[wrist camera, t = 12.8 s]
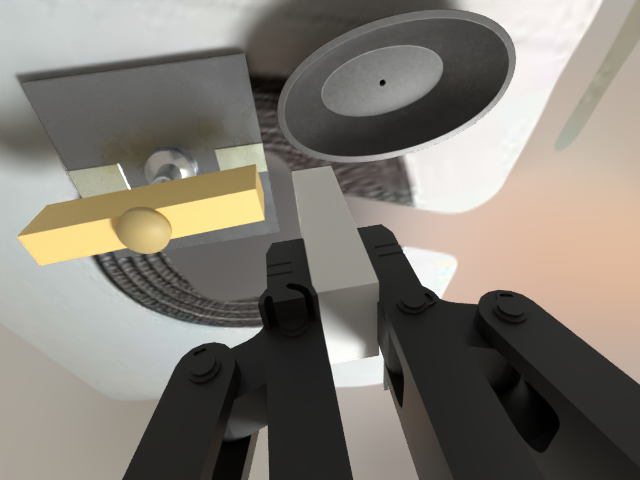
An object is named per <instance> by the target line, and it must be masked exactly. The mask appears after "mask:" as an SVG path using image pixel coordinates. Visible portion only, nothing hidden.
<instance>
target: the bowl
mask: <svg viewBox="0 0 640 480" xmlns="http://www.w3.org/2000/svg"><path fill="white" fill-rule="evenodd" d="M515 63H516V55H515V48H514V45H513V42H512V40H511V38H510V36H509V34H508V33H507V32H506V31H505V29H504V28H503V27H501V26H500V25H499V24H498V23H496V22H495V21H493V20H492V19H490V18H487V17H485V16H483V15H480V14H477V13H473V12H469V11H462V10H452V9H434V10H422V11H414V12H408V13H402V14H398V15H394V16H390V17H386V18H382V19H379V20H376V21H373V22H370V23H367V24H364V25H362V26H359V27H357V28H354V29H352V30H350V31H348V32H346V33H344V34H342V35H340V36H338V37H336V38H334V39H332V40H331V41H329V42H327V43H326V44H324V45H323V46H321V47H320V48H318V49H317V50H316V51H314V52H313V53H312V54H310V55H309V56H308V57H307V58H306V59H305V60H304V61H303V62H302V63H301V64H300V65H299V66H298V67H297V68H296V69H295V70H294V71H293V73H292V74H291V75H290V77H289V78H288V80H287V81H286V83H285V85H284V87H283V89H282V91H281V94H280V97H279V101H278V108H277V115H278V122H279V126H280V128H281V131H282V133H283V135H284V136H285V137H286V139H287V140H288V141H289V142H290V143H291V144H292V145H293V146H294V147H295V148H297V149H298V150H300V151H301V152H303V153H305V154H307V155H310V156H312V157H315V158H319V159H322V160H327V161H335V162H366V161H375V160H382V159H387V158H393V157H397V156H401V155H405V154H409V153H412V152H415V151H419V150H422V149H424V148H427V147H430V146H433V145H435V144H438V143H440V142H442V141H444V140H447V139H449V138H451V137H453V136H455V135H456V134H458V133H460V132H462V131H464V130H465V129H467V128H468V127H470V126H471V125H473V124H474V123H476V122H477V121H478V120H480V119H481V118H482V117H483V116H485V115H486V114H487V113H488V112H489V111H490V110H491V109H492V108H493V107H494V106H495V105H496V104H497V103H498V101H499V100H500V99H501V97H502V96H503V95H504V93H505V92H506V90H507V88H508V86H509V84H510V82H511V80H512V77H513V74H514V70H515ZM382 79H383V83H382V84H380V81H381V80H382Z"/></svg>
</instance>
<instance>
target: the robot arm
mask: <svg viewBox="0 0 640 480" xmlns="http://www.w3.org/2000/svg"><path fill="white" fill-rule="evenodd" d="M292 178H293V185H294V191H295V198H296V204H297V210H298V217H299V223H300V229H301V235H302V238H301V239H295V240H289V241H283V242H277V243H272V245H271V246H270V248H269V250H268V252H267V254H266V263H267V289H266V290H265V291H264V293H263V294H262V295H261V296H260V299H259V303H258V307H259V311H260V314H261V318H262V321H263V325H264V327H263V328H262V329H261V331H260V332H259V333H258V334H256V335H255V336H254V337H253V338H251V339H249V340H248V341H246V342H244V343H242V344H240V345H237V346H235V347H233V348H231V349H230V348H229V347H228V346H226V345H225V344H221V343H216V342H213V343H207V344H202V345H200V346H198V347H196V348H193V349H192V350H190V351H189V352H188V353H187V354H185V355H184V356H183V357H182V358H181V360H180V361H179V363H178V364H177V366H176V367H175V369H174V371H173V373H172V375H171V378H170V380H169V382H168V384H167V386H166V388H165V390H164V392H163V394H162V397H161V399H160V401H159V403H158V405H157V407H156V409H155V411H154V414H153V416H152V418H151V420H150V422H149V424H148V426H147V429H146V431H145V433H144V435H143V437H142V439H141V441H140V444H139V445H138V448H137V450H136V452H135V454H134V456H133V458H132V460H131V462H130V464H129V467H128V469H127V471H126V473H125V475H124V477H123V479H122V480H248V477H249V473H250V469H251V464H252V459H253V455H254V451H255V446H256V441H257V437H258V433H259V430H260V429H261V428H263V427H265V426H267V425H268V450H269V480H353V477H352V472H351V466H350V461H349V456H348V451H347V447H346V441H345V436H344V432H343V426H342V421H341V416H340V411H339V406H338V401H337V396H336V391H335V386H334V381H333V376H332V371H331V366H330V364H335V363H340V362H346V361H351V360H356V359H362V358H367V357H373V356H378V355H379V346H380V349H381V352H382V355H383V358H384V390H388V386H389V389H390V392H391V395H392V398H393V401H394V404H395V407H396V410H397V413H398V416H399V419H400V422H401V425H402V429H403V431H404V435H405V438H406V441H407V444H408V447H409V450H410V453H411V456H412V459H413V462H414V465H415V468H416V471H417V474H418V477H419V480H640V385H639V384H638V383H637V382H636V381H634V380H633V379H632V378H630V377H629V376H628V375H627V374H625V373H624V372H623V371H622V370H620V369H619V368H618V367H617V366H615V365H614V364H613V363H611V362H610V361H609V360H608V359H606V358H605V357H604V356H602V355H601V354H600V353H599V352H597V351H596V350H595V349H594V348H592V347H591V346H590V345H588V344H587V343H586V342H585V341H583V340H582V339H581V338H580V337H578V336H577V335H576V334H574V333H573V332H572V331H571V330H569V329H568V328H567V327H565V326H564V325H563V324H562V323H560V322H559V321H558V320H556V319H555V318H554V317H553V316H551V315H550V314H549V313H547V312H546V311H545V310H544V309H543V308H541V307H540V306H539V305H537V304H536V303H535V302H534V301H532V300H530V299H529V298H527V297H525V296H524V295H522V294H518V293H515V292H512V291H505V290H496V291H491V292H488V293H486V294H485V295H483V296H482V297H481V298H480V301H479V303H478V305H477V304H464V303H454V302H448V301H444V300H441V299H440V298H439V297H438V296H437V295H436V294H435V293H434V292H433V291H431V290H429V289H428V288H426V287H423V286H422V285H421V283H420V281H419V279H418V278H417V276H416V274H415V272H414V270H413V269H412V267H411V265H410V263H409V261H408V259H407V258H406V256H405V254H404V253H403V250H402V249H401V247H400V245H398V242H397V240H396V238H395V236H394V234H393V233H392V232H391V231H390V230H389V229H387V228H386V227H384V226H383V225H381V224H380V225H374V226H368V227H362V228H356V226H355V223H354V221H353V218H352V216H351V213H350V211H349V209H348V206H347V204H346V201H345V199H344V196H343V194H342V192H341V189H340V187H339V184H338V182H337V180H336V177H335V175H334V172H333V170H332V168H331V166H326V167H320V168H313V169H307V170H300V171H293V172H292Z"/></svg>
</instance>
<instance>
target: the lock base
mask: <svg viewBox="0 0 640 480" xmlns="http://www.w3.org/2000/svg"><path fill="white" fill-rule="evenodd" d="M21 86H22V88H23V90H24V92H25V93H26V95H27V97H28V99H29V101H30V102H31V104H32V106H33V108H34V110H35V111H36V113H37V115H38V117H39V119H40V120H41V122H42V124H43V126H44V128H45V129H46V131H47V133H48V135H49V137H50V138H51V140H52V142H53V144H54V146H55V147H56V149H57V151H58V153H59V155H60V156H61V158H62V160H63V162H64V164H65V165H66V167H67V169H68V173H69V175H70V177H71V179H72V180H73V182H74V184H75V186H76V188H77V189H78V191H79V193H80V195H81V197H82V198H86V197H91V196H96V195H101V194H106V193H111V192H116V191H122V190H127V189H132V188H137V187H142V186H147V185H152V184H157V183H162V182H167V181H172V180H177V179H182V178H187V177H192V176H197V175H202V174H207V173H212V172H218V171H223V170H228V169H233V168H238V167H243V166H248V165H253V164H256V166H257V170H258V174H259V177H260V181H261V185H262V188H263V192H264V217H265V220H262V221H257V222H252V223H248V224H243V225H238V226H233V227H228V228H223V229H218V230H213V231H208V232H203V233H198V234H193V235H188V236H184V237H179V238H174V239H170V240H169V243H168V244H167V246H166V247H165V248H164V249H162V250H161V251H165V250H170V249H177V248H183V247H189V246H195V245H201V244H208V243H213V242H220V241H226V240H232V239H238V238H244V237H251V236H257V235H263V234H269V233H275V232H280V229H279V223H278V218H277V212H276V208H275V202H274V198H273V192H272V187H271V182H270V177H269V172H268V167H267V162H266V157H265V152H264V147H263V142H262V136H261V131H260V126H259V121H258V116H257V111H256V106H255V101H254V96H253V91H252V86H251V81H250V76H249V71H248V66H247V61H246V55H245V53H241V54H233V55H225V56H218V57H210V58H202V59H195V60H187V61H179V62H172V63H164V64H157V65H149V66H141V67H134V68H126V69H118V70H111V71H103V72H95V73H88V74H80V75H73V76H65V77H57V78H50V79H42V80H34V81H27V82H25V83H22V84H21ZM113 252H114V254H115V256H116V257H117V258H121V257H128V256H134V255H140V254H146V253H139V252H135V251H133V250H130V249H129V248H124V249H120V250H115V251H113Z"/></svg>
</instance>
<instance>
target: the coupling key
mask: <svg viewBox="0 0 640 480" xmlns="http://www.w3.org/2000/svg"><path fill="white" fill-rule="evenodd" d="M262 220H265V217H264V192H263V188H262V185H261V181H260V177H259V174H258V170H257V166H256V164H253V165H248V166H243V167H238V168H233V169H228V170H223V171H218V172H212V173H207V174H202V175H197V176H192V177H187V178H182V179H177V180H172V181H167V182H162V183H157V184H152V185H147V186H142V187H137V188H132V189H127V190H122V191H116V192H111V193H106V194H101V195H96V196H91V197H86V198H81V199H76V200H71V201H66V202H61V203H56V204H51V205H47V206H46V207H45V208H44V209H43V210H42V211H41V212H40V213H39V214H38V215H37V216H36V217H35V218H34V219H33V220H32V221H31V223H30V224H29V225H28V226H27V227H26V228H25V229H24V230H23V231H22V232H21V233H20V234H19V235H18V236H17V238H18V239H19V240H20V241H21V243H22V244H23V245H24V246H25V248H26V249H27V250H28V251H29V253H30V254H31V255H32V256H33V257H34V259H35V260H36V261H37V262H38V264H39V265H40V266H41V265H46V264H51V263H56V262H60V261H65V260H70V259H75V258H80V257H85V256H90V255H95V254H100V253H105V252H110V251H115V250H120V249H124V248H129V249H130V250H133V251H135V252H139V253H146V254H149V253H155V252H158V251H161V250H162V249H164V248H165V247H166V246H167V244H168V243H169V240H170V239H174V238H179V237H184V236H188V235H193V234H198V233H203V232H208V231H213V230H218V229H223V228H228V227H233V226H238V225H243V224H248V223H252V222H257V221H262Z"/></svg>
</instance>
